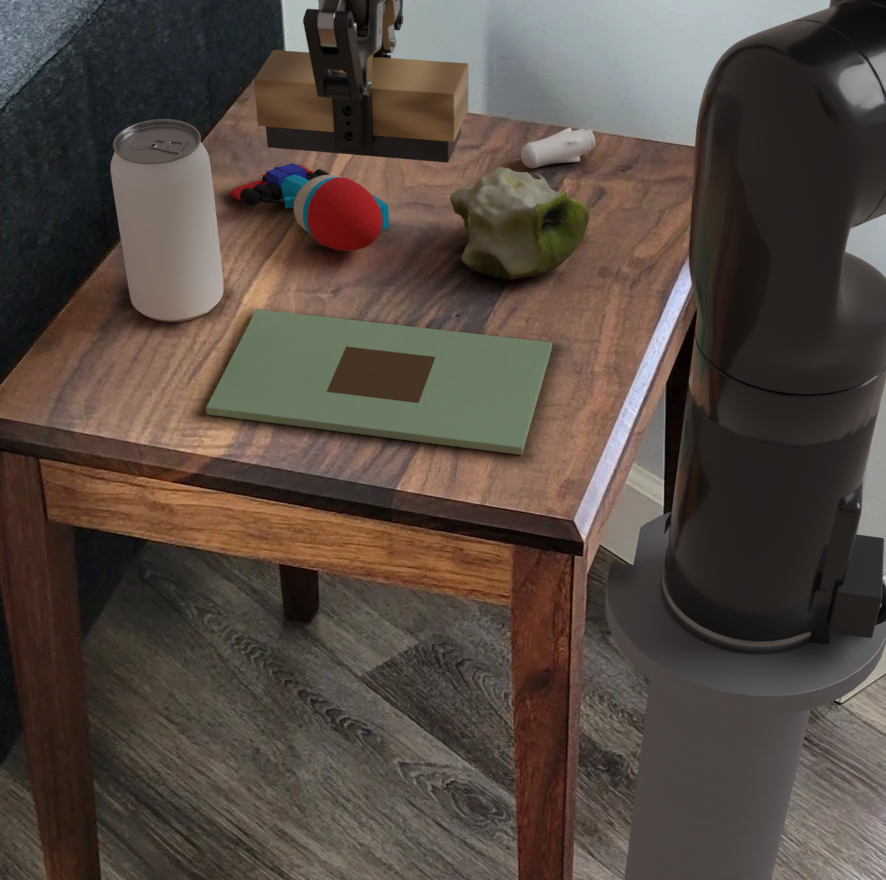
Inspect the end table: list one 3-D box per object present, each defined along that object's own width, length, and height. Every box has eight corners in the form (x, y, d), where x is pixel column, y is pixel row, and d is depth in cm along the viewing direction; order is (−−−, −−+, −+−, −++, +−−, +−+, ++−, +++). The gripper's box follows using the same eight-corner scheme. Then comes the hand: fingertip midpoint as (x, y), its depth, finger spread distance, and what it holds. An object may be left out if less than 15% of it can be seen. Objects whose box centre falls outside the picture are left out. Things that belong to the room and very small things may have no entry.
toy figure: (223, 218, 122) (330, 276, 111) (215, 154, 120) (325, 207, 109) (308, 194, 126) (421, 248, 115) (303, 131, 123) (418, 180, 112)
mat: (551, 349, 106) (552, 341, 105) (522, 455, 98) (522, 447, 98) (256, 316, 110) (256, 308, 110) (206, 414, 103) (205, 406, 102)
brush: (468, 133, 99) (468, 62, 96) (454, 165, 96) (454, 94, 93) (279, 118, 102) (273, 49, 99) (259, 149, 99) (253, 79, 96)
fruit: (594, 303, 112) (593, 215, 105) (458, 315, 113) (448, 229, 106) (584, 210, 117) (582, 121, 111) (454, 223, 118) (444, 135, 112)
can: (154, 266, 115) (131, 110, 107) (238, 279, 114) (222, 122, 105) (115, 317, 111) (89, 158, 103) (203, 331, 109) (183, 171, 101)
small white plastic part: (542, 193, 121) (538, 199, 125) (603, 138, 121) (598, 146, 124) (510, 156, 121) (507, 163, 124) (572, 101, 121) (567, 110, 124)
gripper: (387, -112, 81) (396, 196, 92) (449, -207, 91) (451, 82, 102) (243, -118, 83) (270, 185, 94) (319, -211, 93) (335, 74, 104)
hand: (364, 130), depth 98 cm, fingers closed on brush, 4 cm apart
